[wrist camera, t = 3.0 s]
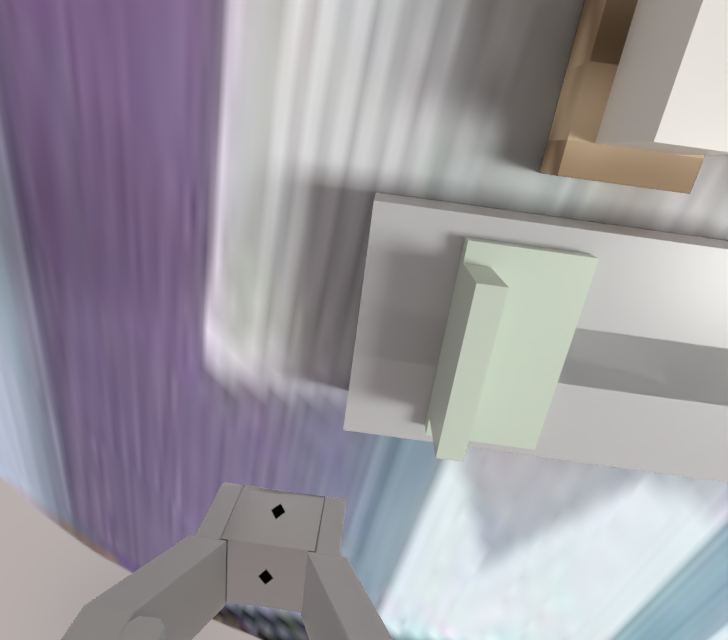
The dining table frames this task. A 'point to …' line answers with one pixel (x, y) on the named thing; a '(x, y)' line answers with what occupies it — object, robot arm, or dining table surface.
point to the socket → (588, 346)
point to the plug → (672, 80)
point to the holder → (586, 109)
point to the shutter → (505, 344)
